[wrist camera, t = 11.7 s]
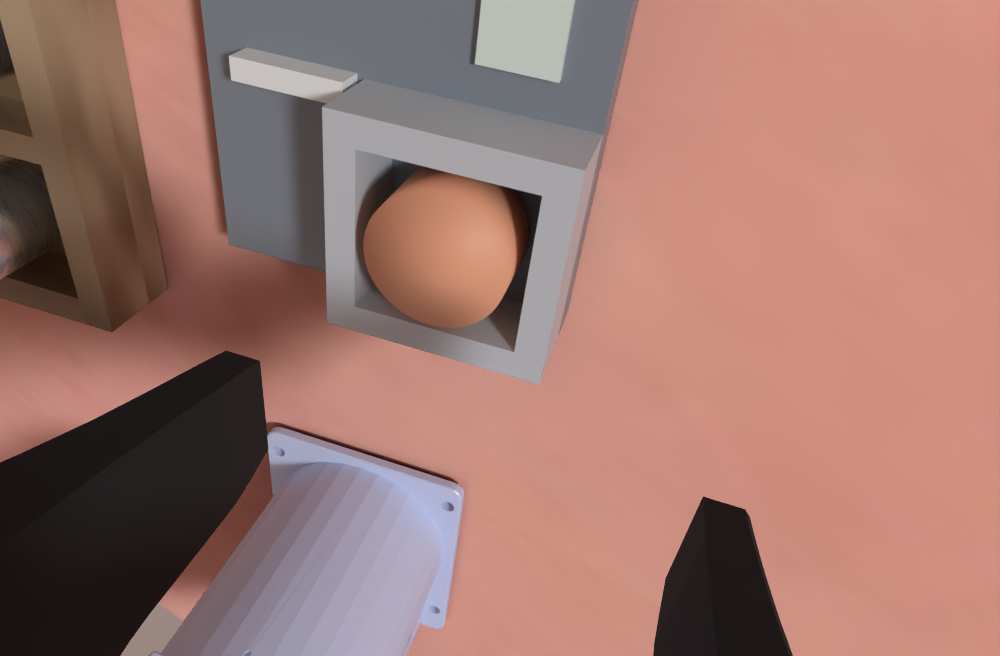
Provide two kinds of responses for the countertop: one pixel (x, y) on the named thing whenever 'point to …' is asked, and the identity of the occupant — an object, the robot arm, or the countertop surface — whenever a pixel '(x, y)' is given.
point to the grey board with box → (416, 141)
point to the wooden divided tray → (80, 161)
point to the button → (446, 247)
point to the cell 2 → (24, 215)
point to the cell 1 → (5, 57)
